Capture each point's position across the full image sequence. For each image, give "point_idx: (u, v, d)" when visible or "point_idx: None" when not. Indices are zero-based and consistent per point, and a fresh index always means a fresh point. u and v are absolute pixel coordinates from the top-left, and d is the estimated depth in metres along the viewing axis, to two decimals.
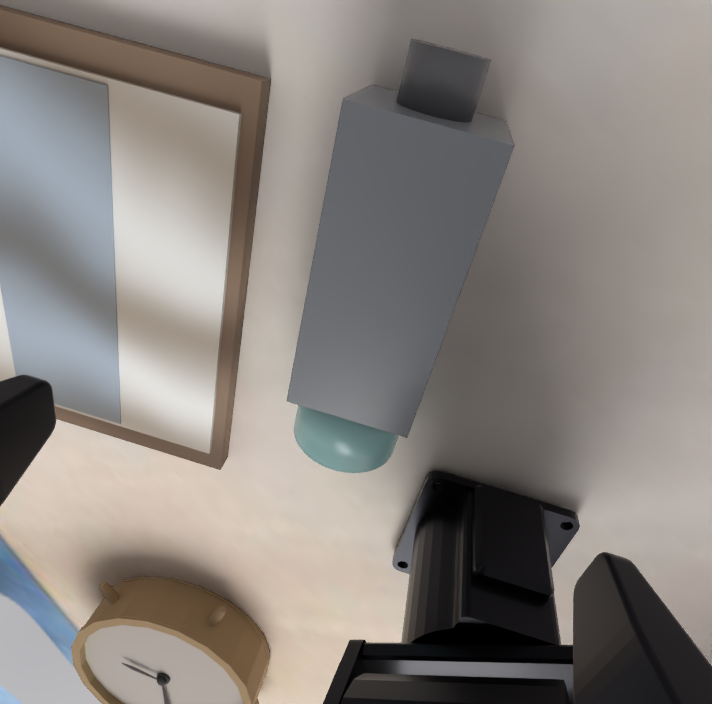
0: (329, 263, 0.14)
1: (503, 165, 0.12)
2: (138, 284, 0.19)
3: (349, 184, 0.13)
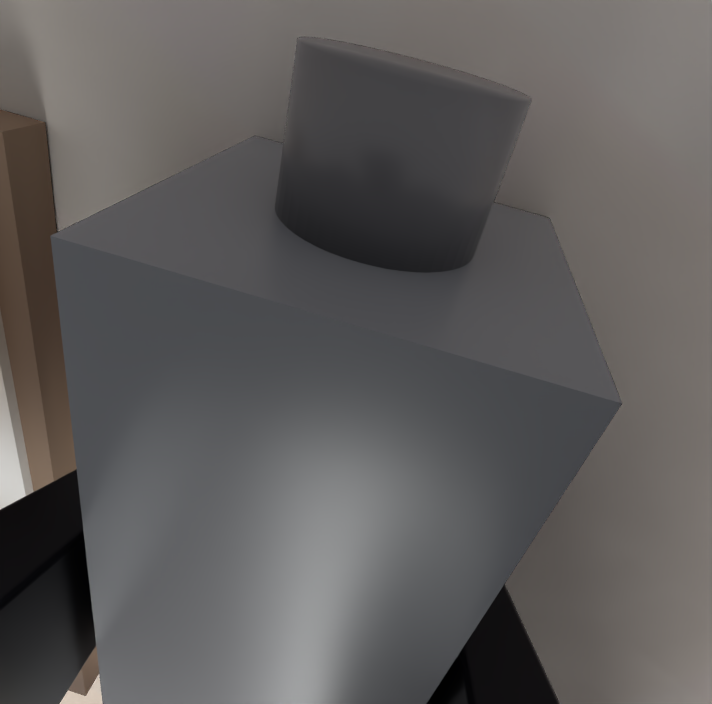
0: (127, 585, 0.06)
1: (578, 449, 0.04)
2: None
3: (132, 447, 0.05)
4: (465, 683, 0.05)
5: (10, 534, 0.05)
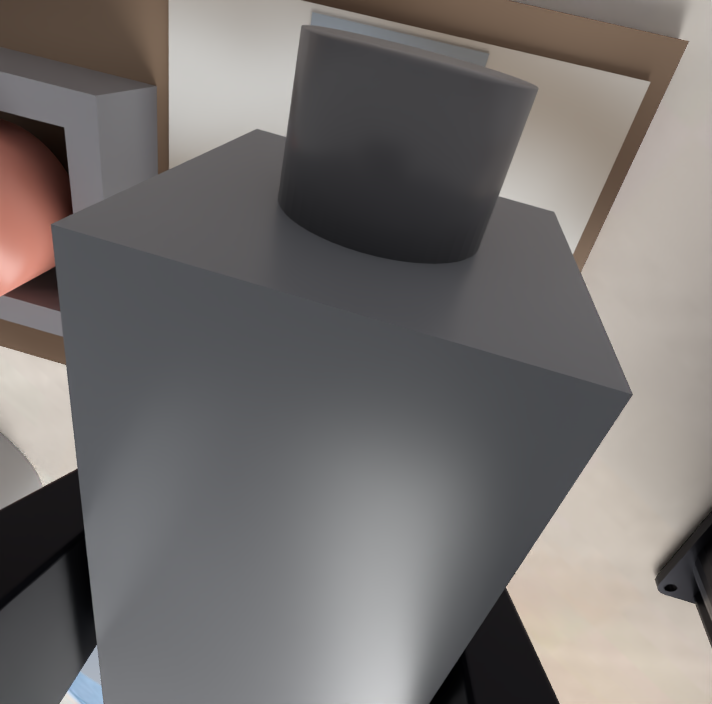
0: (128, 581, 0.06)
1: (587, 441, 0.04)
2: None
3: (133, 440, 0.05)
4: (465, 683, 0.05)
5: (10, 534, 0.05)
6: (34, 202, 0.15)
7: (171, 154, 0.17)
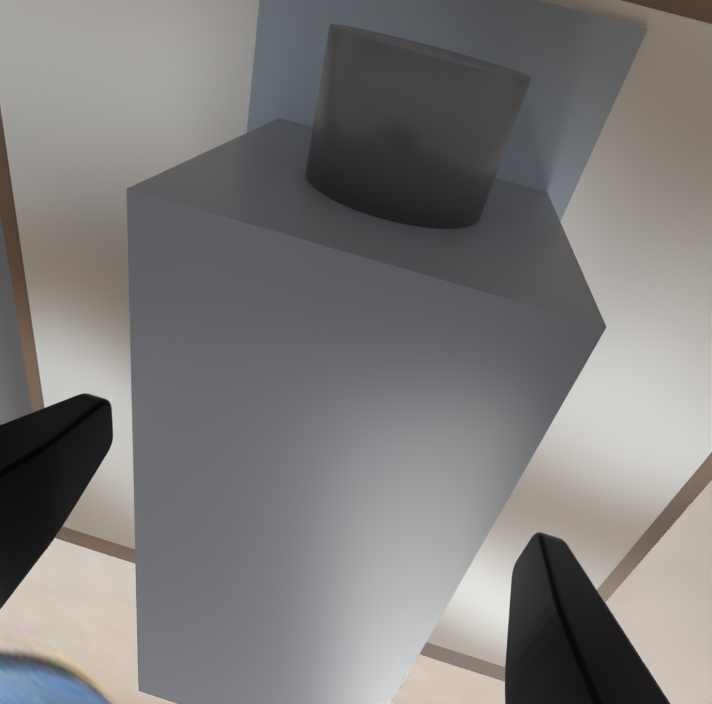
0: (169, 517, 0.06)
1: (570, 370, 0.04)
2: None
3: (183, 382, 0.05)
4: None
5: None
6: None
7: (19, 202, 0.09)
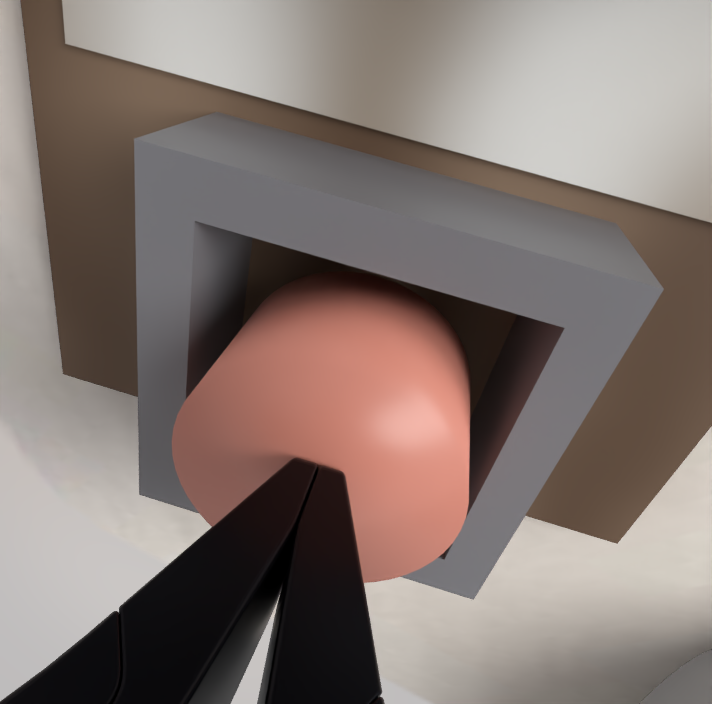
0: None
1: None
2: None
3: None
4: (281, 624, 0.05)
5: (189, 591, 0.05)
6: (305, 314, 0.08)
7: (311, 107, 0.10)
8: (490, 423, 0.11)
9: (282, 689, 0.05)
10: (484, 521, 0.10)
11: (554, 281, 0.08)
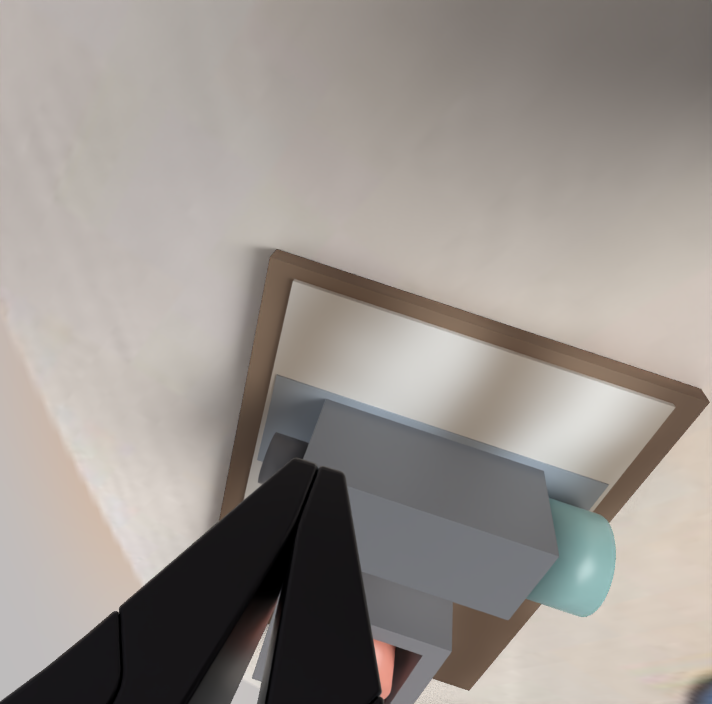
0: (383, 570, 0.19)
1: None
2: (441, 409, 0.20)
3: None
4: (281, 624, 0.05)
5: (189, 591, 0.05)
6: None
7: None
8: (404, 659, 0.27)
9: (282, 690, 0.05)
10: (399, 702, 0.26)
11: (418, 644, 0.23)
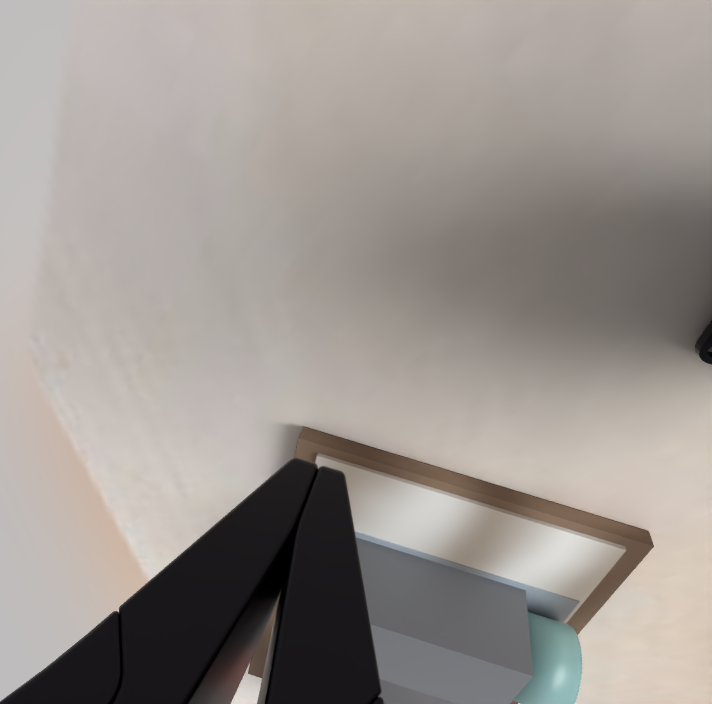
0: (395, 678, 0.24)
1: None
2: (439, 544, 0.25)
3: None
4: (281, 624, 0.05)
5: (189, 591, 0.05)
6: None
7: None
8: None
9: (282, 690, 0.05)
10: None
11: None
